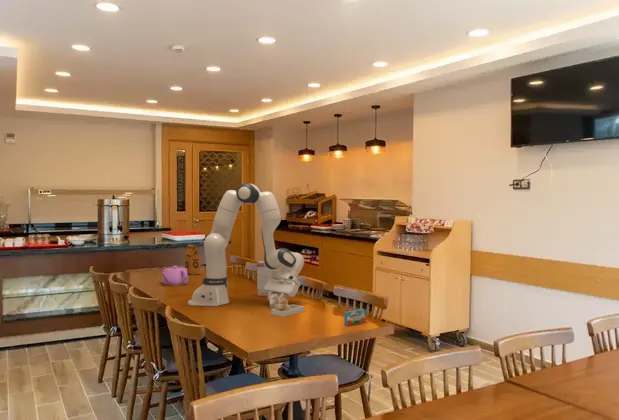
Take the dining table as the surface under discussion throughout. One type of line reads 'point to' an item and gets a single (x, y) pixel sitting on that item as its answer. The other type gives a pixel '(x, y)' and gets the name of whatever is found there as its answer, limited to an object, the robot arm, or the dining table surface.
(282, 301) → the brown egg
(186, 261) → the coffee package
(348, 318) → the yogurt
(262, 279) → the cracker box
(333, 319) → the dining table surface
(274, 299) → the cream egg
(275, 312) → the carton
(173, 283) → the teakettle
